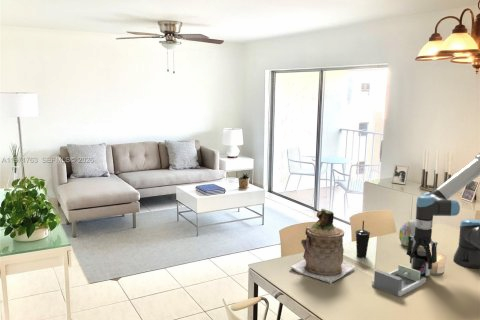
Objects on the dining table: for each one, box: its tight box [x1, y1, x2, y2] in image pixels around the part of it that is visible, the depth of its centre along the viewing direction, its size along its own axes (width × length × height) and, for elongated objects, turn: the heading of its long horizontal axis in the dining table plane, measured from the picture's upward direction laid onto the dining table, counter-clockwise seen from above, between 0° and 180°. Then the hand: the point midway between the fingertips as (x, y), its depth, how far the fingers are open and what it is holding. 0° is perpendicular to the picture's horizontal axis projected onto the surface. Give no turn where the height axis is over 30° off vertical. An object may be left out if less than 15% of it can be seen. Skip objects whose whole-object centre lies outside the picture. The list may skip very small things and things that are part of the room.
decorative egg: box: [398, 219, 416, 248], centre depth 239 cm, size 12×12×15 cm
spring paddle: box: [397, 264, 421, 281], centre depth 193 cm, size 5×10×5 cm, turn 39°
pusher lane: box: [371, 268, 427, 298], centre depth 189 cm, size 22×14×7 cm, turn 129°
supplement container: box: [413, 250, 428, 277], centre depth 200 cm, size 7×7×10 cm
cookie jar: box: [289, 208, 356, 285], centre depth 202 cm, size 25×25×32 cm
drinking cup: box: [355, 220, 371, 259], centre depth 221 cm, size 8×8×20 cm
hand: (420, 272), depth 201 cm, fingers closed on supplement container, 7 cm apart
